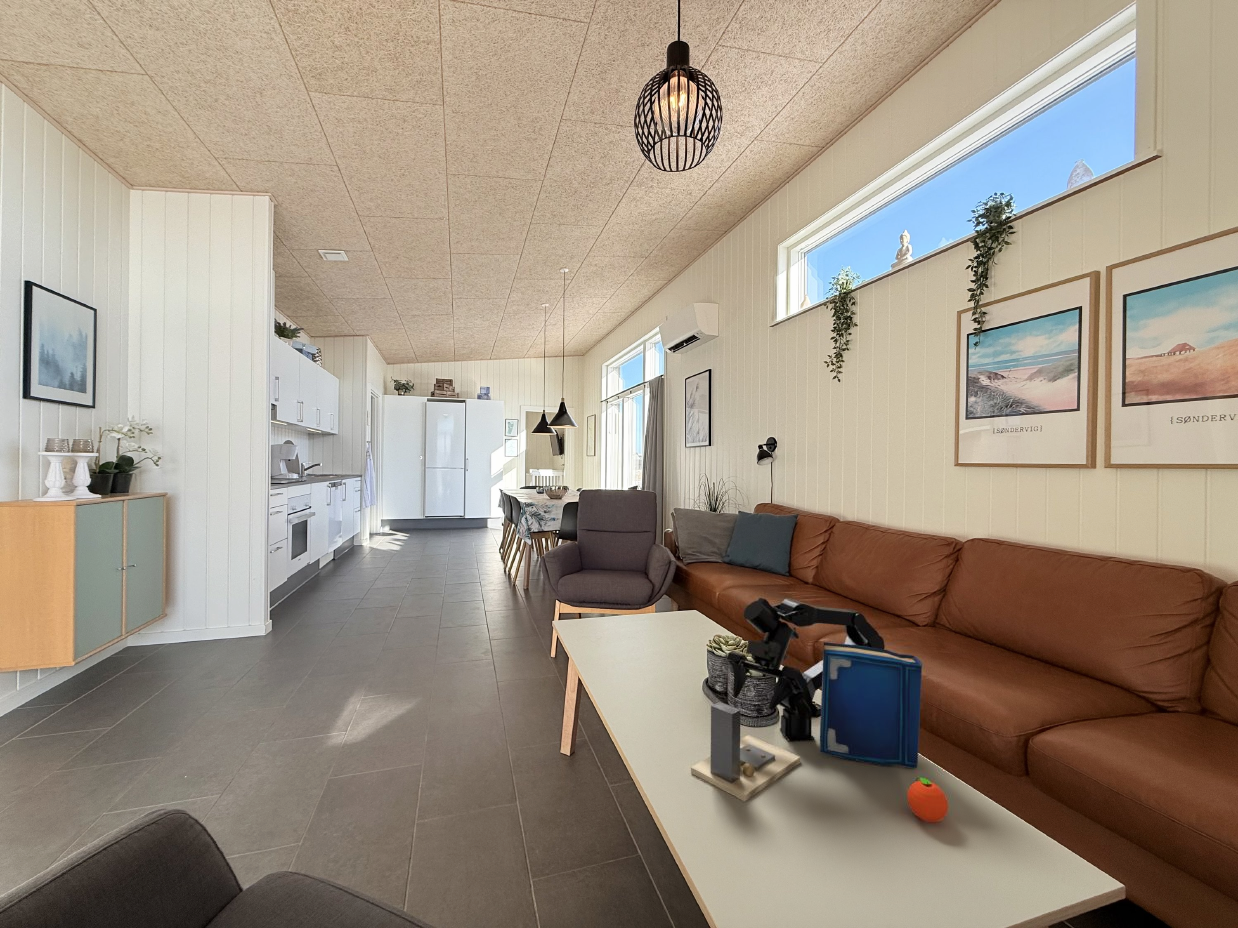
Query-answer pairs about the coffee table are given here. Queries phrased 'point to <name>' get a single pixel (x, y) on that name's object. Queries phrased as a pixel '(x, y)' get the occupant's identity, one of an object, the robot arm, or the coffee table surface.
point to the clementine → (927, 801)
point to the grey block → (725, 742)
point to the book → (870, 705)
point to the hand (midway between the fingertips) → (751, 703)
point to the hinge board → (758, 776)
